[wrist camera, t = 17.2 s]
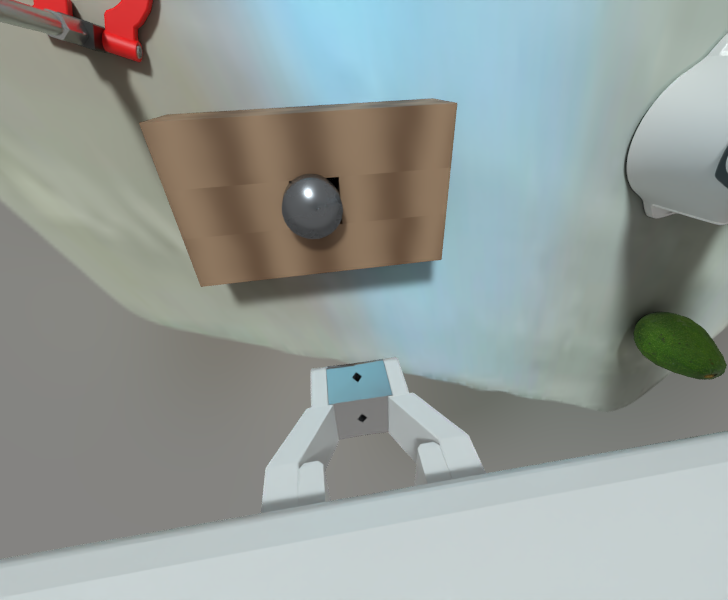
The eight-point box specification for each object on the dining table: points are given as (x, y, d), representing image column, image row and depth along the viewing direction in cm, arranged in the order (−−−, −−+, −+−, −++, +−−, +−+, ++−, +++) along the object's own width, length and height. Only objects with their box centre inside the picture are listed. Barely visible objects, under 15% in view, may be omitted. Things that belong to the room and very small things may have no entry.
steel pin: (333, 157, 33) (341, 178, 26) (336, 207, 36) (344, 236, 29) (282, 160, 32) (277, 181, 26) (289, 210, 35) (286, 241, 29)
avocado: (635, 301, 51) (715, 355, 41) (678, 300, 52) (764, 352, 43) (610, 341, 55) (676, 398, 46) (650, 339, 57) (722, 394, 47)
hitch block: (432, 98, 31) (457, 102, 26) (423, 236, 39) (441, 259, 34) (166, 114, 29) (138, 123, 24) (214, 258, 37) (200, 286, 32)
